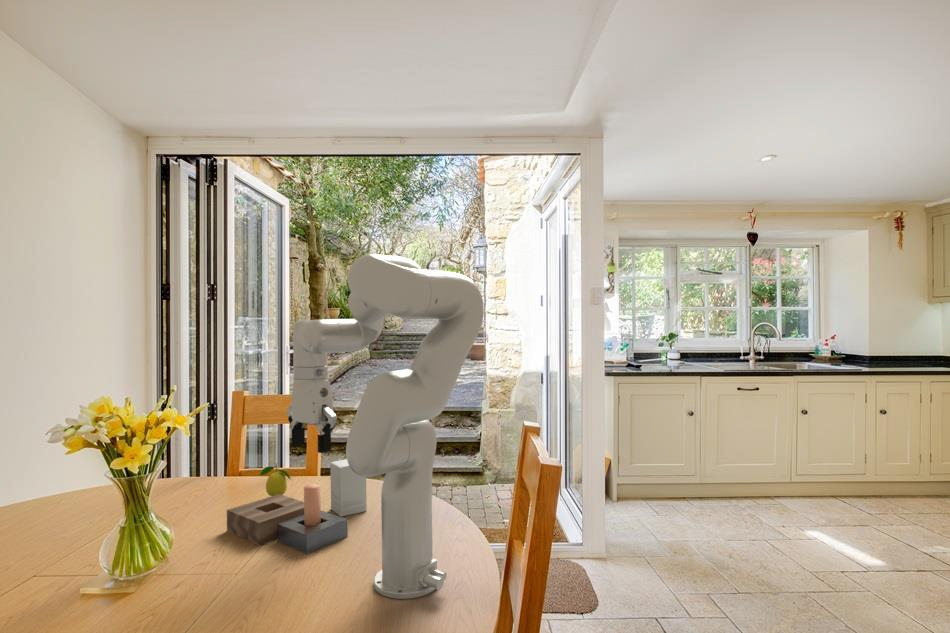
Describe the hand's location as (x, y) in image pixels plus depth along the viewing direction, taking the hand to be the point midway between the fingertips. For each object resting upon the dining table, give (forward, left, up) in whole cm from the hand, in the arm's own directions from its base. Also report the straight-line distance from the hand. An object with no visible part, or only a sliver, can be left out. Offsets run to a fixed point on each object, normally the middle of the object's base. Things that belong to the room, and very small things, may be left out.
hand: (310, 448), depth 122 cm
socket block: (+14, +2, -21) cm, 25 cm away
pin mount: (0, 0, -21) cm, 21 cm away
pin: (0, 0, -21) cm, 21 cm away
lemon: (+32, -11, -21) cm, 40 cm away
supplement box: (+8, -17, -21) cm, 28 cm away
